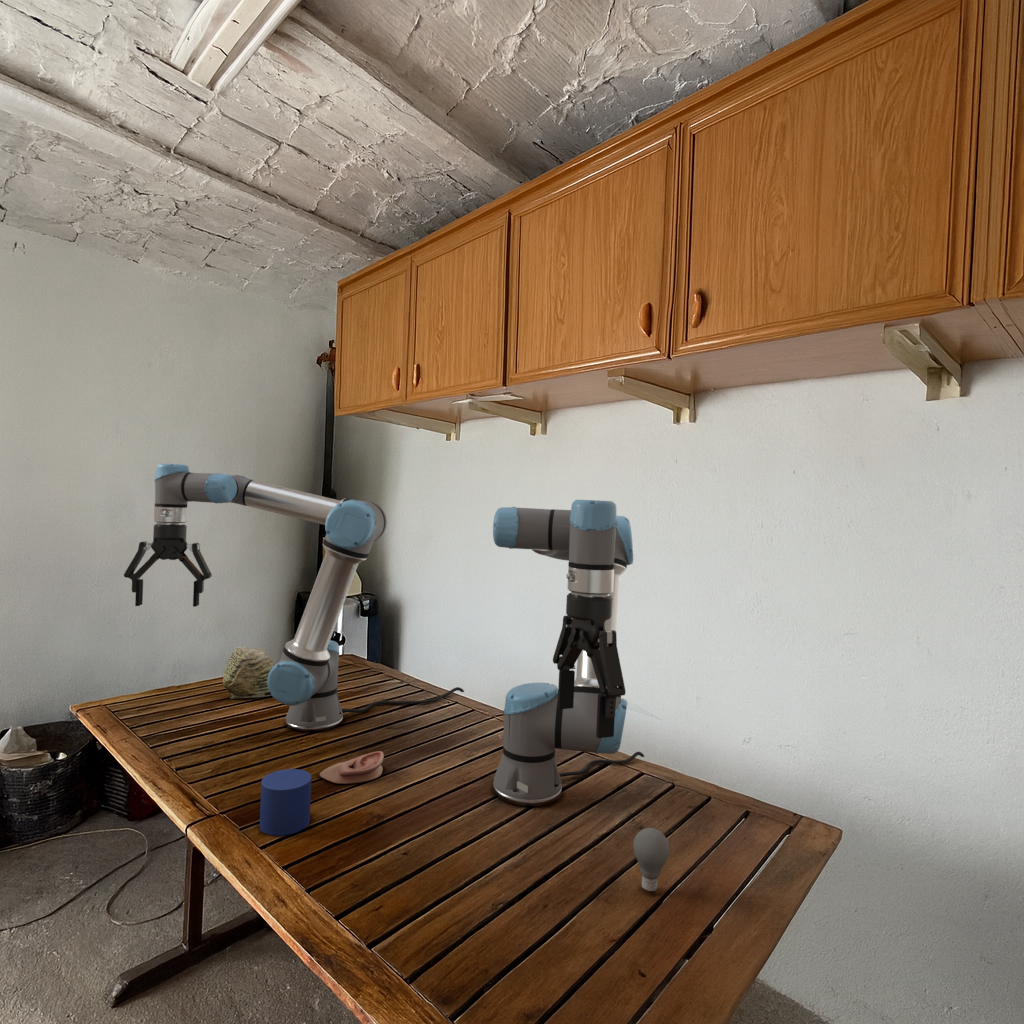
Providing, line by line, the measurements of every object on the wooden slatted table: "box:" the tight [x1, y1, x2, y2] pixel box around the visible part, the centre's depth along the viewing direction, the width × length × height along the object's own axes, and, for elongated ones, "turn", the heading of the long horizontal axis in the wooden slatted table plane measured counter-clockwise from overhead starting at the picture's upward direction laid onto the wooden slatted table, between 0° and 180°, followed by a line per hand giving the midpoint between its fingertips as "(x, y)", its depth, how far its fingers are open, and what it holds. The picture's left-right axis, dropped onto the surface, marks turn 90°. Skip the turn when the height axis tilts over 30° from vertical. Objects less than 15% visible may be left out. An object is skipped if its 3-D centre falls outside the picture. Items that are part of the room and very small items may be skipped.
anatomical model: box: [319, 750, 385, 785], centre depth 145 cm, size 13×4×12 cm
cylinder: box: [259, 768, 312, 837], centre depth 122 cm, size 9×9×9 cm
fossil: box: [222, 646, 276, 699], centre depth 198 cm, size 9×18×15 cm, turn 132°
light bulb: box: [632, 827, 671, 892], centre depth 106 cm, size 6×6×10 cm
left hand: (167, 605), depth 164 cm, fingers open, 13 cm apart
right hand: (583, 721), depth 105 cm, fingers open, 13 cm apart
